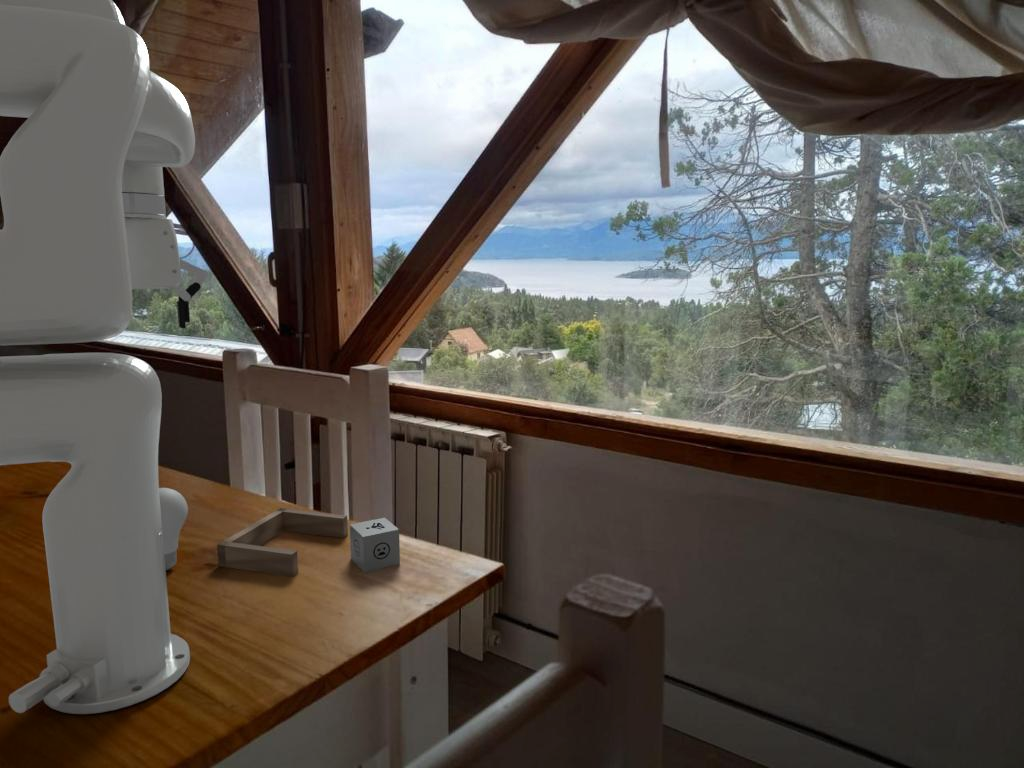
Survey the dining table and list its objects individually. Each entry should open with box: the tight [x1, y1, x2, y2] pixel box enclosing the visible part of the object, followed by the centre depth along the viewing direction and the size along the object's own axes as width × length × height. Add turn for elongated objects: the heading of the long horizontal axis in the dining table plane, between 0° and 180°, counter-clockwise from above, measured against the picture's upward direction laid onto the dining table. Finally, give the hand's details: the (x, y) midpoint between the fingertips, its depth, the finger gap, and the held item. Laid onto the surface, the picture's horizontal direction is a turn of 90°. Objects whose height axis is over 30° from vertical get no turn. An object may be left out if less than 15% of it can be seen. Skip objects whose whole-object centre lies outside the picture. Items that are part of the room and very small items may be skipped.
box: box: [216, 507, 349, 577], centre depth 98 cm, size 14×11×3 cm
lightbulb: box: [159, 487, 189, 571], centre depth 91 cm, size 6×6×11 cm
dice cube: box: [349, 517, 401, 573], centre depth 94 cm, size 5×5×5 cm
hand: (146, 329), depth 102 cm, fingers open, 9 cm apart
